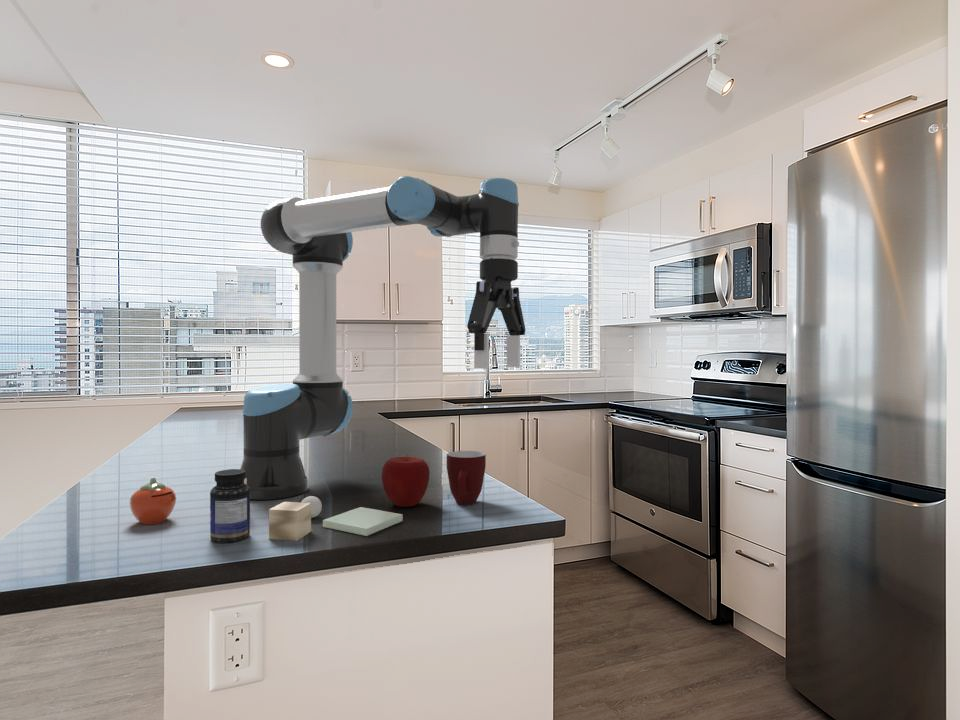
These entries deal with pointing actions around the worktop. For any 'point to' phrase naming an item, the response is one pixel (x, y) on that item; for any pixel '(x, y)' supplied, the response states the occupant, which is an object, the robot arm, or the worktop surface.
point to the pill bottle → (229, 507)
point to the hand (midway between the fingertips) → (498, 367)
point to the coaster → (362, 521)
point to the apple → (405, 480)
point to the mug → (466, 475)
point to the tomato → (152, 503)
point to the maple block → (289, 521)
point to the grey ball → (313, 505)
